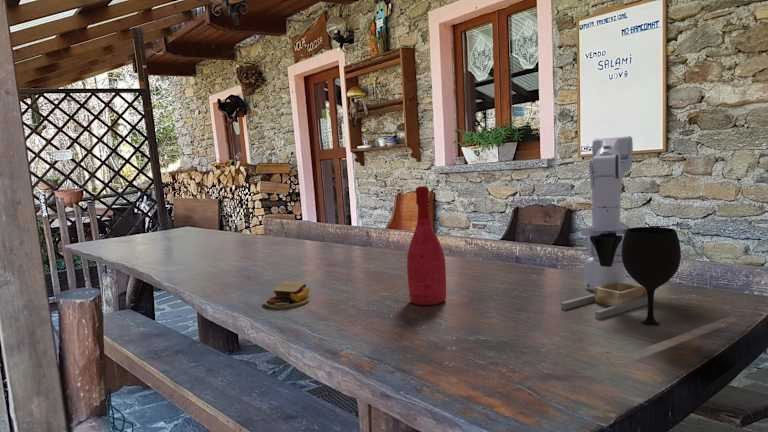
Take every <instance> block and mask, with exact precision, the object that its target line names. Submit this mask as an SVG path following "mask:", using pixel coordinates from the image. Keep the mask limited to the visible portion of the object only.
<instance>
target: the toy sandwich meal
mask: <svg viewBox="0 0 768 432" xmlns="http://www.w3.org/2000/svg"><path fill="white" fill-rule="evenodd" d="M309 292H310V287H307V284H306V282H304V281H296V280H295V281H293V280H291V281H284V282H282V283H281V284H280V285H278V286H277V287H275V289H273V294H275V295H274V296H271V297H268V298H266V299H265V300H264V301H263V304H264V305H265V306H266V307H267V308H269V307H270V309H274V308H276V309H277V310H280V309H281V310H282V309H291V308H292V309H293V308H296V307H300V306H303V305H305V304H307V303H308V301H309V300H310V299H311V297H310V295H309V294H310V293H309Z"/></svg>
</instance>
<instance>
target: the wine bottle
mask: <svg viewBox="0 0 768 432" xmlns="http://www.w3.org/2000/svg"><path fill="white" fill-rule="evenodd" d="M429 191H430V190H429V187H428V186H424V185H421V186H417V187H415V194H416V196H415V198H416V201H415V203H416V205H417V219H416V220H417V221H416V226H415V229H414V232H413V234H412V238H411V240H410V243H409V246H408V250H407V255H406V267H407V268H406V269H407V270H406V271H407V283H408V284H407V285H408V292H409V293H408V296H409V300H410V302H412V303H413V304H415V305H418V306H434V305H438V304H442V303H443V302H445V300H446V299H447V277H446V276H447V272H446V258H445V253H444V250H443V247H442V244H441V241H440V240H439V237H438V236H437V234H436V232H435V229H434V228H433V225H432V221H431V217H430V213H429V204H430V196H429V195H430V194H429V193H430V192H429Z"/></svg>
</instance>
